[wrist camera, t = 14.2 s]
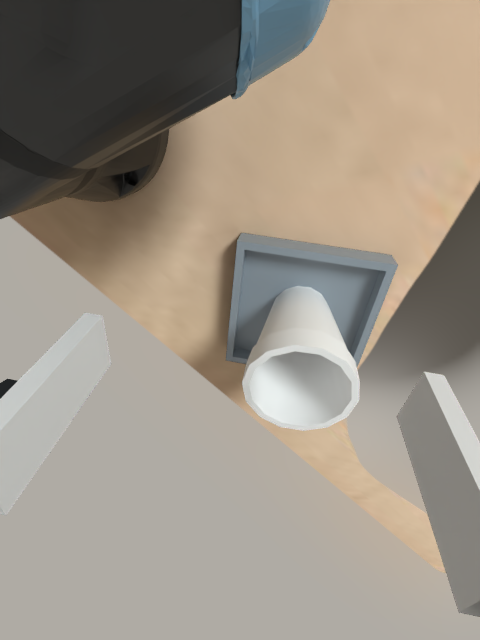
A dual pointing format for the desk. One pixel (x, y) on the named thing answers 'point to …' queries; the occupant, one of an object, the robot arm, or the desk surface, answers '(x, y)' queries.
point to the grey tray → (308, 271)
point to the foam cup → (301, 365)
